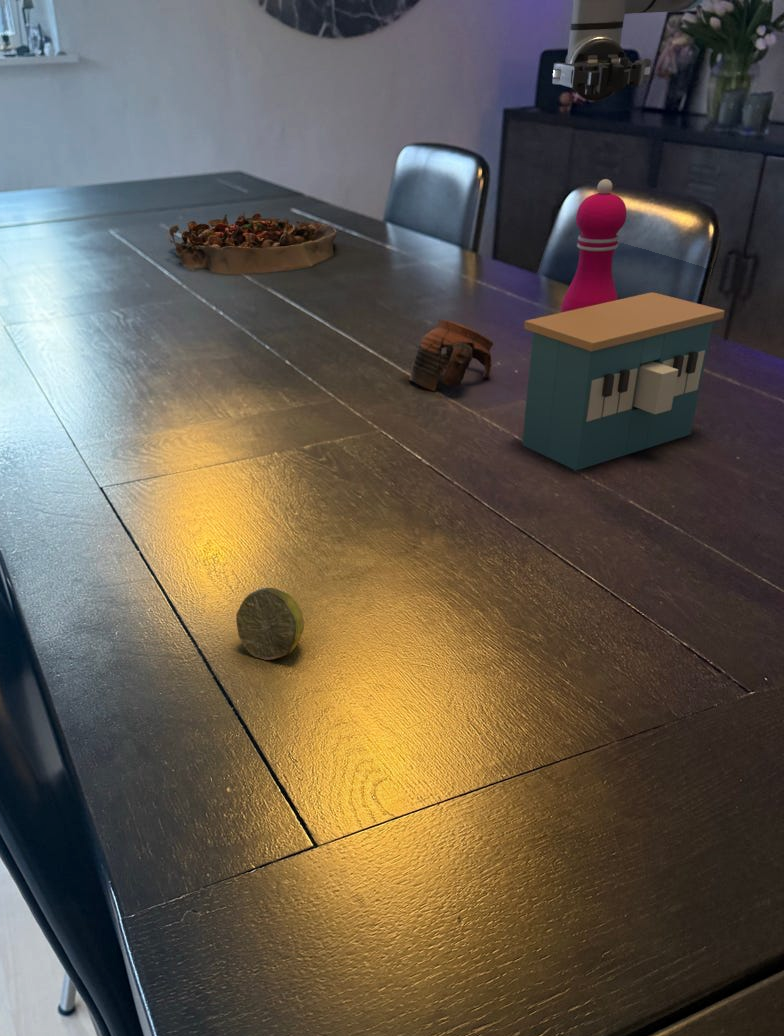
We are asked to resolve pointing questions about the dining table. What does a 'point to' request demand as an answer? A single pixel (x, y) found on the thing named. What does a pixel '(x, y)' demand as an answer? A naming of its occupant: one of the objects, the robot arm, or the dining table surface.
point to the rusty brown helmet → (449, 355)
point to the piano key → (655, 387)
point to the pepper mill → (596, 249)
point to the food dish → (253, 245)
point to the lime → (269, 623)
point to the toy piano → (612, 376)
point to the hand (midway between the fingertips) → (611, 80)
